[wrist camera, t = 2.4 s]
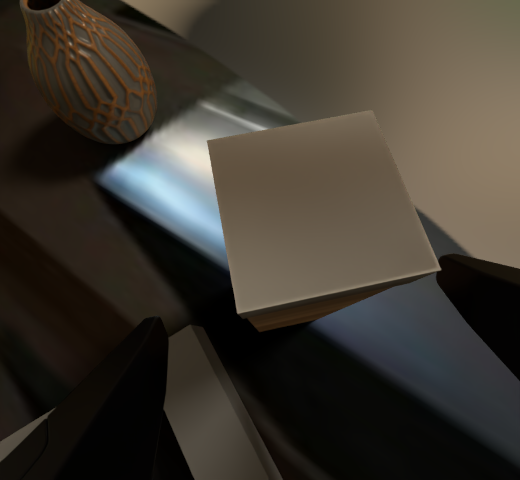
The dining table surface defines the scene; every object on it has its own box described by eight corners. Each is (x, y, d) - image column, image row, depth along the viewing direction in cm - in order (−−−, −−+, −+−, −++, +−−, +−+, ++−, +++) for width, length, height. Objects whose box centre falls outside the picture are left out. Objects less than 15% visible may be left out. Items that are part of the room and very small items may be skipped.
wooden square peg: (317, 320, 17) (441, 270, 5) (258, 333, 17) (237, 313, 5) (302, 263, 18) (371, 109, 6) (247, 275, 18) (206, 140, 6)
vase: (128, 174, 21) (38, 66, 13) (62, 134, 22) (-58, 12, 14) (186, 111, 23) (139, -19, 15) (122, 77, 24) (46, -60, 16)
